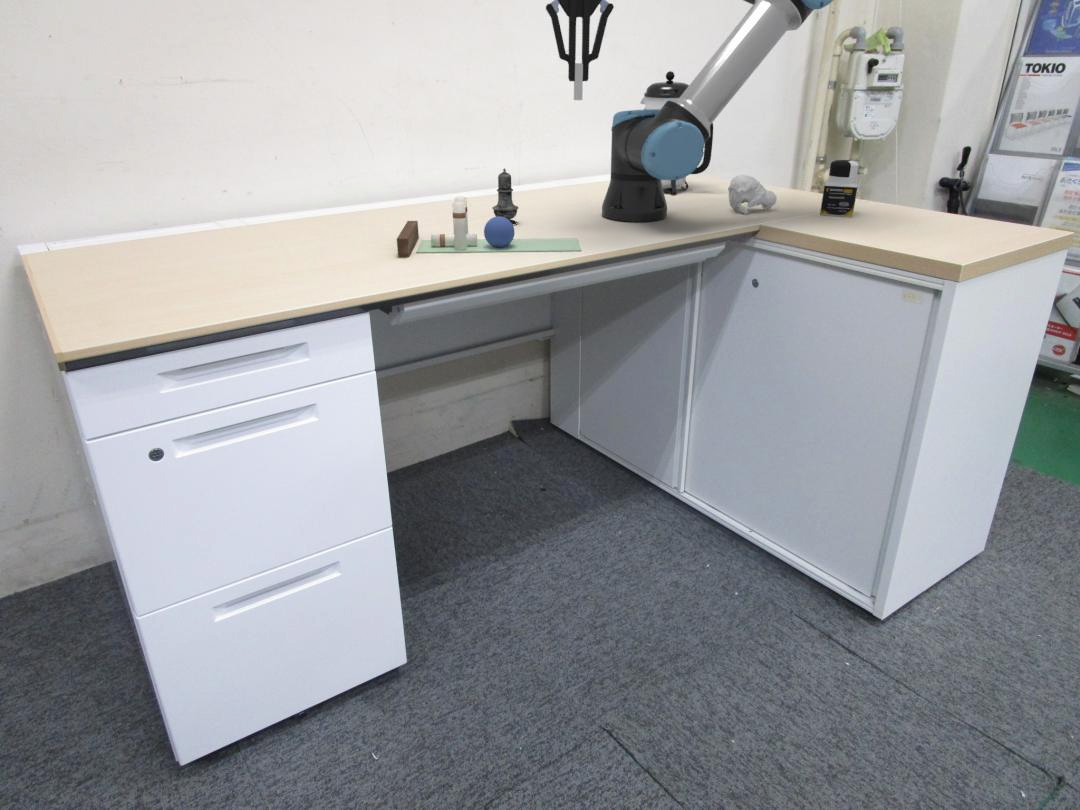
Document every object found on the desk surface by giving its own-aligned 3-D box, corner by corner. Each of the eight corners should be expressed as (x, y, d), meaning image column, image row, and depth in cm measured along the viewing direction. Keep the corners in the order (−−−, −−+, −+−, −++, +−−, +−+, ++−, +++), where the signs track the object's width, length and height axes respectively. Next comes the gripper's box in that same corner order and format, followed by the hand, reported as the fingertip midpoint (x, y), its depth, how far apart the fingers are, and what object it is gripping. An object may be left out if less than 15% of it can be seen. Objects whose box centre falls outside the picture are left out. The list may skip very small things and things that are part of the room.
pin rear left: (467, 248, 148) (465, 201, 144) (466, 251, 145) (464, 204, 141) (455, 248, 147) (452, 201, 144) (454, 251, 145) (451, 204, 141)
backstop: (418, 237, 156) (417, 220, 154) (408, 257, 141) (407, 238, 140) (409, 237, 156) (407, 220, 154) (398, 257, 141) (396, 238, 140)
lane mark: (577, 239, 154) (577, 238, 154) (581, 251, 145) (581, 250, 145) (421, 240, 153) (421, 240, 153) (416, 253, 144) (416, 252, 144)
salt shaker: (515, 226, 165) (514, 170, 160) (489, 225, 166) (487, 169, 161) (521, 221, 170) (520, 166, 165) (496, 220, 171) (494, 166, 166)
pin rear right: (469, 241, 152) (467, 196, 149) (468, 244, 150) (466, 198, 146) (457, 241, 152) (454, 196, 148) (456, 244, 150) (453, 199, 146)
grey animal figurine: (728, 172, 177) (773, 175, 180) (721, 208, 181) (765, 211, 184) (740, 176, 172) (786, 179, 175) (733, 214, 175) (779, 216, 178)
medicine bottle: (819, 215, 174) (828, 162, 169) (821, 209, 180) (829, 158, 175) (852, 217, 172) (861, 163, 167) (853, 211, 178) (862, 159, 173)
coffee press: (647, 197, 196) (654, 72, 183) (628, 187, 211) (633, 70, 198) (708, 194, 200) (720, 71, 187) (686, 184, 214) (695, 70, 201)
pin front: (476, 232, 149) (431, 232, 148) (476, 236, 146) (430, 237, 146) (477, 243, 150) (432, 244, 149) (477, 248, 148) (431, 249, 147)
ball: (477, 227, 149) (499, 246, 152) (478, 239, 144) (501, 258, 147) (497, 205, 147) (519, 225, 149) (498, 217, 142) (521, 236, 144)
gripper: (545, -42, 133) (545, 101, 143) (618, -42, 134) (613, 100, 144) (543, -37, 140) (544, 98, 150) (613, -38, 140) (608, 98, 151)
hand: (578, 99), depth 147 cm, fingers closed
